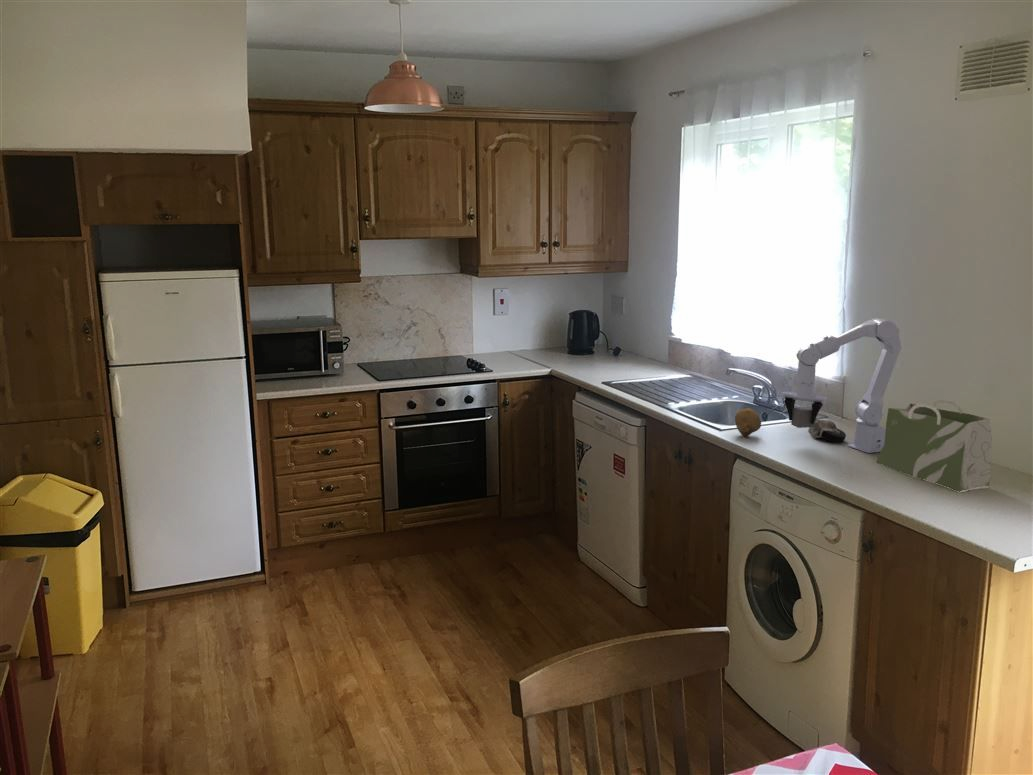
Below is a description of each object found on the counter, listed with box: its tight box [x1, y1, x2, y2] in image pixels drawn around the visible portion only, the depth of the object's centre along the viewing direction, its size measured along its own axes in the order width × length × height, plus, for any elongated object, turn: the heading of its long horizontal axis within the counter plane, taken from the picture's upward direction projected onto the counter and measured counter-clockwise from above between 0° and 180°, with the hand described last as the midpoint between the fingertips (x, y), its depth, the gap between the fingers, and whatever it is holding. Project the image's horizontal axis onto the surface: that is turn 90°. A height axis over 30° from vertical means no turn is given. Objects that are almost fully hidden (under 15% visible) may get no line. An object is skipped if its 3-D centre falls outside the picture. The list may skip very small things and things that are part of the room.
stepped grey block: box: [790, 406, 819, 429], centre depth 294 cm, size 4×8×6 cm, turn 103°
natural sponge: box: [734, 407, 762, 437], centre depth 306 cm, size 9×9×10 cm
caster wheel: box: [807, 417, 847, 444], centre depth 304 cm, size 7×11×10 cm
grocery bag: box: [875, 398, 992, 492], centre depth 263 cm, size 32×14×23 cm, turn 23°
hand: (801, 421), depth 294 cm, fingers closed on stepped grey block, 7 cm apart
